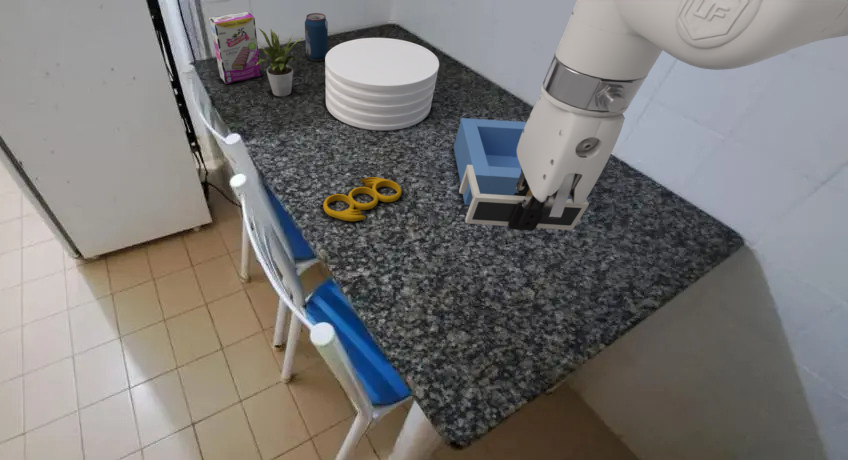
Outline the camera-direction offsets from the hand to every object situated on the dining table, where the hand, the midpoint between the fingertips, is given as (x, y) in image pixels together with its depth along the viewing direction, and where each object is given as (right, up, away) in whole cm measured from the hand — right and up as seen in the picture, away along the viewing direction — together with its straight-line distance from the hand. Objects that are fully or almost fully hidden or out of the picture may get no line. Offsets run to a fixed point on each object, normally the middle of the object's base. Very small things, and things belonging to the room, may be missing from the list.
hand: (519, 222), depth 49 cm
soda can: (-29, +54, +76) cm, 98 cm away
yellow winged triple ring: (-18, +5, +28) cm, 34 cm away
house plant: (-39, +38, +60) cm, 81 cm away
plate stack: (-12, +33, +56) cm, 66 cm away
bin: (+13, +10, +34) cm, 38 cm away
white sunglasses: (0, +2, +2) cm, 3 cm away
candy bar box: (-51, +44, +65) cm, 93 cm away
